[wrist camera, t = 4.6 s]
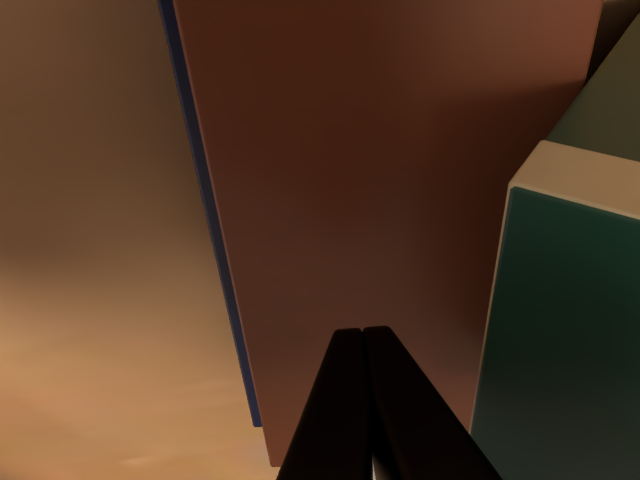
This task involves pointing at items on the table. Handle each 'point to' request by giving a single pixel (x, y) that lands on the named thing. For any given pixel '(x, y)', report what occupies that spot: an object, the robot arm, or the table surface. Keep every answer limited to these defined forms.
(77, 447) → the table surface
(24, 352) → the table surface
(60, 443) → the table surface
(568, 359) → the tea box
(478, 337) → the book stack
